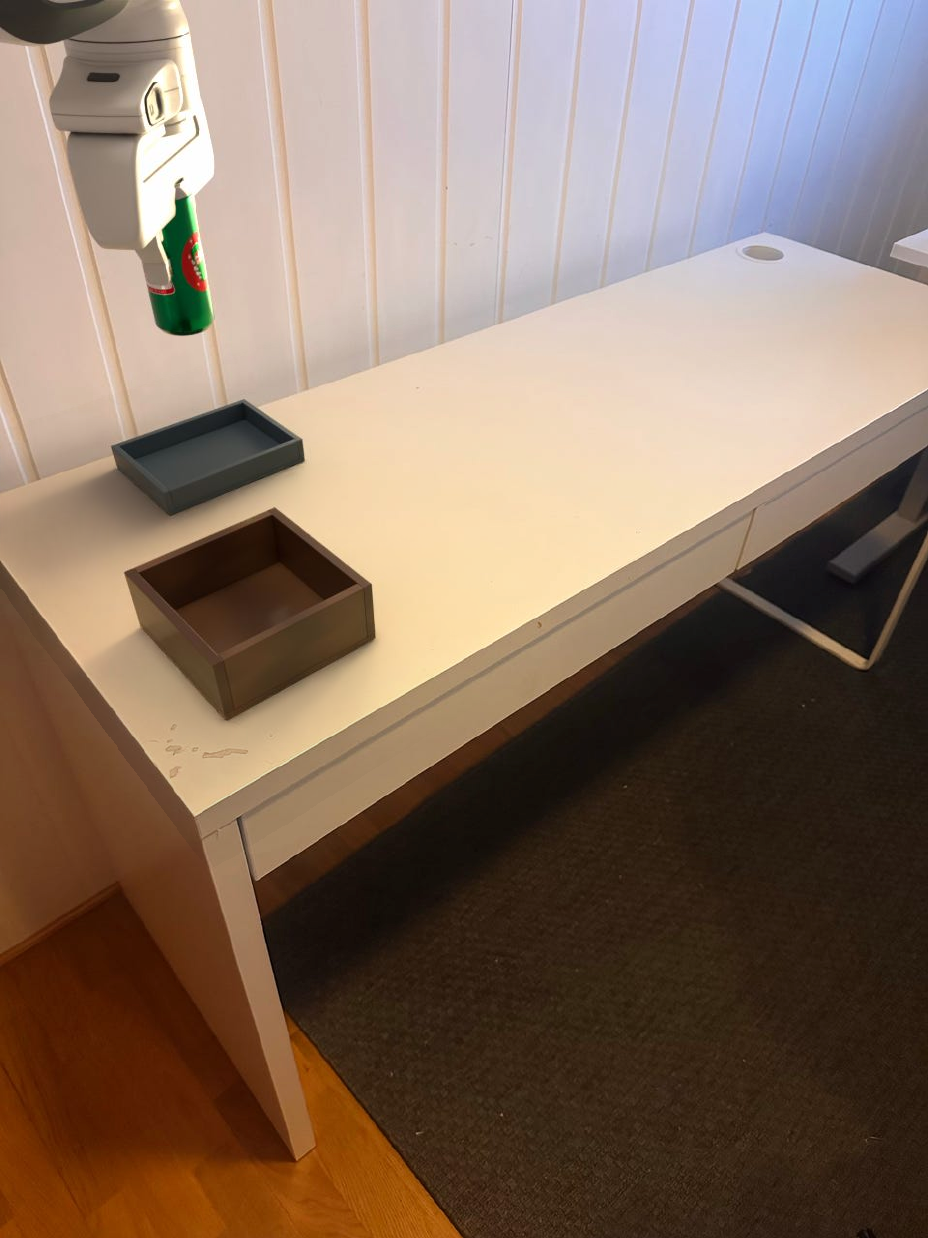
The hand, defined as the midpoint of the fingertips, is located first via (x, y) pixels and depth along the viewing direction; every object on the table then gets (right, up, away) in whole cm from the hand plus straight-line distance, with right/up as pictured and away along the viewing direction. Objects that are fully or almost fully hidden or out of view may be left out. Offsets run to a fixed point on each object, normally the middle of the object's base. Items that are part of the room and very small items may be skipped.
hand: (173, 267), depth 75 cm
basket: (+8, -31, -3) cm, 32 cm away
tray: (-1, -14, +16) cm, 21 cm away
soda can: (0, -4, +4) cm, 5 cm away
